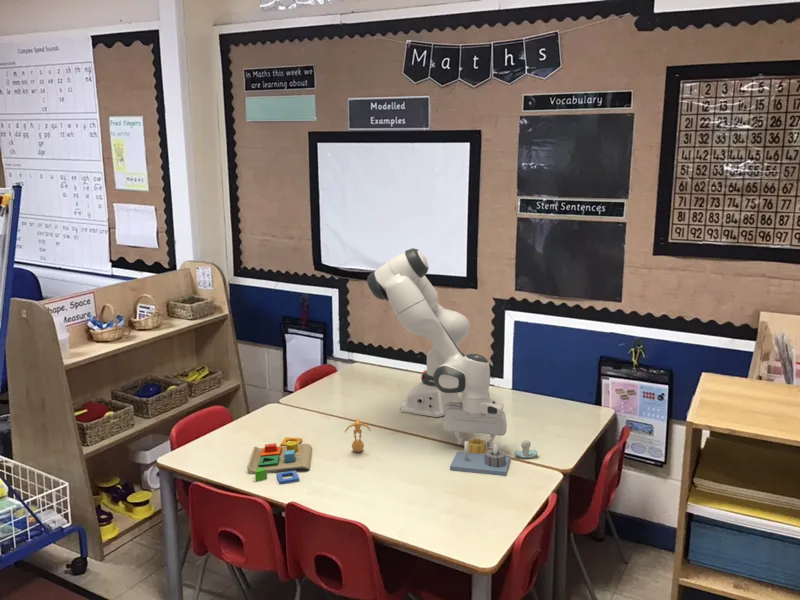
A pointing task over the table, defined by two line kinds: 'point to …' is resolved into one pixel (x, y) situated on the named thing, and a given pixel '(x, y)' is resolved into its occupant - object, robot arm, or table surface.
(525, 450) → the pacifier
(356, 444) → the figurine
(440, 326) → the robot arm
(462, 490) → the table surface
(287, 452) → the shape sorter
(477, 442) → the ochre gear
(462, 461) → the gear board
